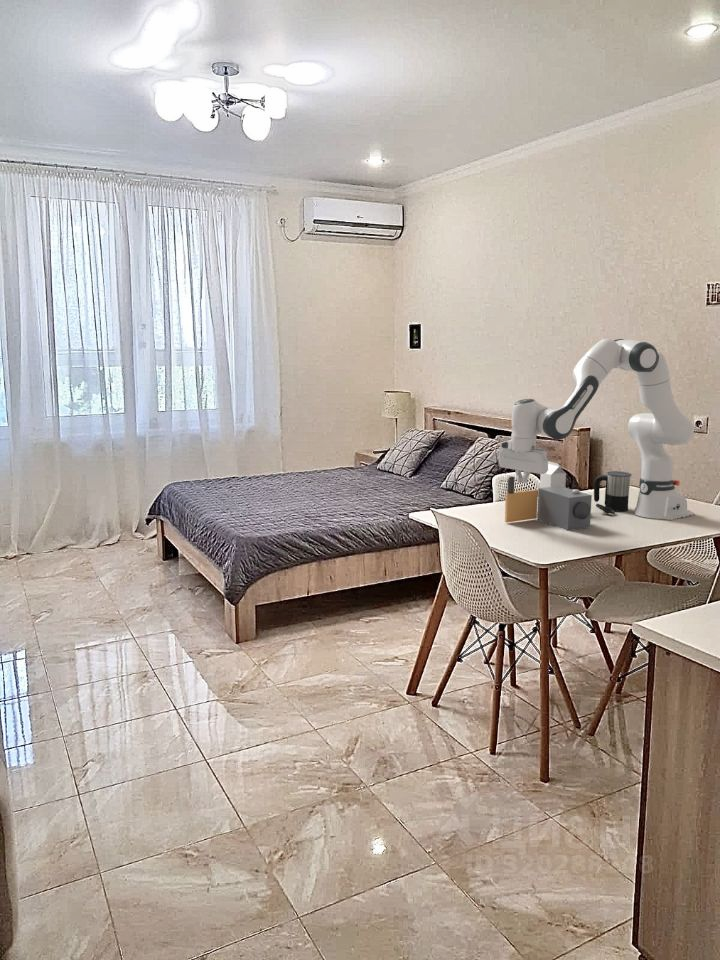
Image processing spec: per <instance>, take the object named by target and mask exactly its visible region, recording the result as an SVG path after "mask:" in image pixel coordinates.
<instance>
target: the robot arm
mask: <svg viewBox="0 0 720 960" xmlns="http://www.w3.org/2000/svg"><path fill="white" fill-rule="evenodd" d="M613 369H619V370H623V371H626V372H629V371H631V372H636V375H637V376H636V377H637V385H638V386H637V387H638V392H639V393H638V394H639V400H640V404H641V405H642V406H643V407H644V408H646V409H647V410H648V411H649V412H643V413H642V412H641V413H636V414H633V415H632V417H631V418H630V419H629V421H628V424H627V430H628V434H629V436H630V437H631V438H632V439H633V440H634V441H635V443H636V444H637V447H638V449H639V453H640V457H641V473H640V474H641V475H640V478H639V485H638V486H639V491H638V496H637V501H636V505H635V508H634V512H633V514H634V515H636V516H639V517H642V518H647V519H655V520H656V519H657V520H658V519H659V520H667V521H670V520H671V521H672V520H673V519H674V520H677V518H678V519H682V518H681V517H683V518H686V516H687V517H690V516H689V515H691V516H694V515H693V514H694V512H693V511H692V510H690V509H688V500H687V498H686V497H685V496H684V495H682V494H681V493H680V491H678V490H676V487H675V486H680V480H678V479H674V480H673V470H674V469H673V467H674V460H673V457H672V456H671V455H670V454H668V453H667V452H666V450H665V449H664V446H663V445H669V446H682V445H686V444H688V443H689V442H690V441H691V440H692V438H693V436H694V432H695V430H694V424H693V422H692V421H691V420H690V419H689V418H687V417H686V416H685V415H684V413H682V411H681V410H680V409H679V407H678V406H677V404H676V402H675V400H674V396H673V393H672V391H673V390H672V387H671V380H670V372H669V368H668V363H667V361H666V358H665V355H664V354H663V353H662V352H661V351H658V350H657V349H656V347H655V346H654V345H652V344H651V343H649V342H647V341H641V340H637V339H624V338H617V339H614V340H613V339H611V338H603V339H601V340H599V341H598V342H597V343H595V344H594V345H593V346H592V347H591V348H590V349H589V350H587V351H586V353H584V354H583V356H582V357H581V358H580V359H579V360H578V362H577V363H576V364H575V366H574V368H573V369H572V378H573V381H574V383H575V385H576V386H575V390H574V391H573V393H572V394H571V396H569V398H568V399H567V401H566V402H565V403H564V404H563V406H561V407H560V408H557V409H554V408H552V407H548V406H546V405H543V404H541V403H539V402H538V401H537V400H535V399H534V398H524V399H520V400H518V401H516V402H514V404H513V405H512V406H513V407H512V412H511V423H510V425H511V428H512V431H511V435H510V439H508V440H505V441H500V442H499V448H500V449H499V452H498V465H499V467H500V468H503V469H510V470H515V475H516V476H517V483H520V484H527V483H528V479H529V477H530V475H531V473H533V474H539V475H540V474H544V473H546V472H547V471H548V461H549V460H548V451H547V449H546V448H544V447H542V446H541V447H540V446H537V435H538V434H542V435H543V436H547V437H549V438H551V439H553V440H556V441H557V440H559V441H560V440H563V439H565V438H567V437H569V436H570V434H571V433H572V431H573V430H574V427H575V424H576V422H577V420H578V418H579V416H581V414H582V412H583V411H584V410H585V408H586V407H587V405H588V404H589V403H590V401H591V400H592V399H593V398H594V396H595V394H596V393H597V391H598V390H599V386H600V385H601V384H602V383H603V381H604V380H605V379H606V378H607V377H608V375H609V374H610V373H611V372H612V370H613ZM522 472H523V473H522ZM674 520H673V521H674Z"/></svg>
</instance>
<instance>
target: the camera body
mask: <svg viewBox="0 0 720 960" xmlns="http://www.w3.org/2000/svg"><path fill="white" fill-rule="evenodd" d="M537 490H538V500H537V518H536V519H537V520H538V519H539V520H538V521H541V522H543V521H544V523H546V522H547V523H546V524H549V523H550V524H549V525H552V526H554V525H555V527H557V526H558V527H557V528H559V529H562V528H563V530H565V529H566V530H565V531H573V530H572V529H575V530H581V529H580V528H582V529H589V528H588V527H590V528H591V516H592V497H593V495H592V494H589V493H585V492H582V491H580V489H578V488H577V489H576V488H575V489H574V488H573V489H571V488H569V487H566V486H565V487H562V486H556V487H546V488H540V487H538V489H537Z"/></svg>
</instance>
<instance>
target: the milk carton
mask: <svg viewBox="0 0 720 960" xmlns="http://www.w3.org/2000/svg"><path fill="white" fill-rule="evenodd" d="M566 473H567V472H565V471H564V470H563V469H562V467H561V466H560V463H557V462H553V461H549V460H548V471H547V472H546V473H544V474H539V475H540V479H539V482H540V483H539V488H546V487H556V486H562V487H565V488H566V483H567V482H566V481H567V479H566V478H567V474H566Z"/></svg>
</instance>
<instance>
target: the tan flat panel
mask: <svg viewBox="0 0 720 960" xmlns="http://www.w3.org/2000/svg"><path fill="white" fill-rule="evenodd" d="M515 478H516V477H515V476H512V475H510V476H509V475H508V476H507V492H506V493H505V508H504V509H505V510H504V522H505V523H514V522H519V521H520V522H521V521H525V520H527V521H528V520H535V519H537V512H538V489H530V490H529V489H527V490H522V491H515Z"/></svg>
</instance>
